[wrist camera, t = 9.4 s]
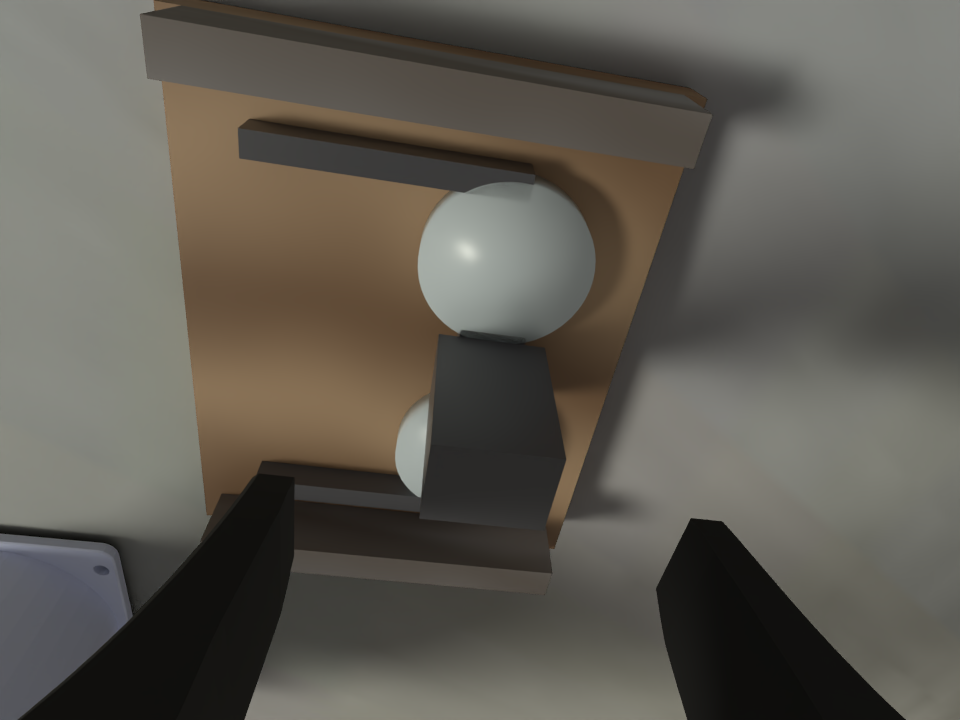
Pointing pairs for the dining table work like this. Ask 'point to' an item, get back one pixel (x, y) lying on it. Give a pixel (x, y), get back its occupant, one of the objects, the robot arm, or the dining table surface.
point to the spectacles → (464, 329)
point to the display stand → (385, 259)
